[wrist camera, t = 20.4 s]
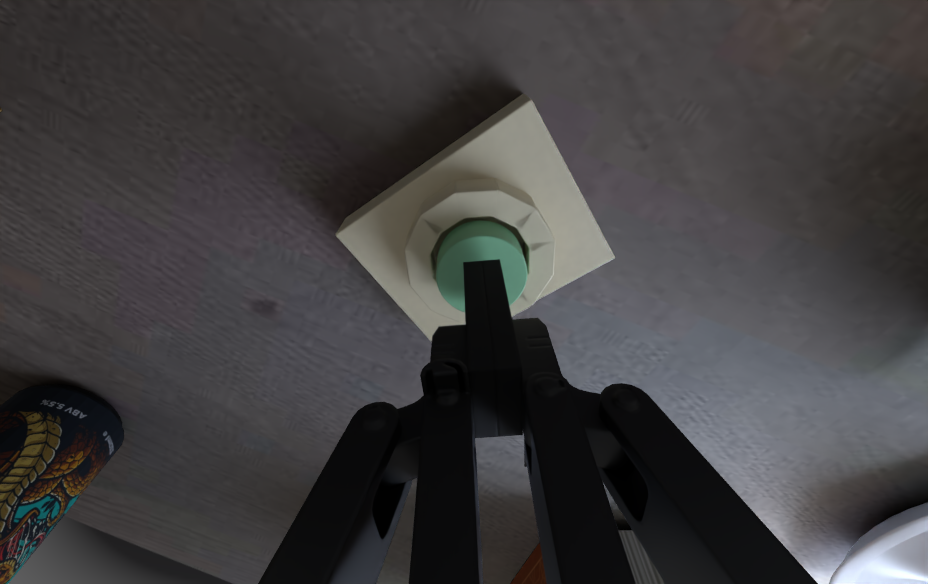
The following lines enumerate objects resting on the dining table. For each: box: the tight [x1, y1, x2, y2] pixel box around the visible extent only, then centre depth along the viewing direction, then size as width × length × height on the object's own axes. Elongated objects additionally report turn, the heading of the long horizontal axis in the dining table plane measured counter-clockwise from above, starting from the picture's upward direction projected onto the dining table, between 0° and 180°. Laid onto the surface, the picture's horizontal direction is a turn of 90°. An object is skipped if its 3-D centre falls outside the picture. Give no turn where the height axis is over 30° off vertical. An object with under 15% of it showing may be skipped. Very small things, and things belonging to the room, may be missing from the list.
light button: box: [436, 221, 527, 312], centre depth 19 cm, size 4×4×2 cm
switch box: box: [335, 94, 615, 342], centre depth 21 cm, size 11×9×4 cm
